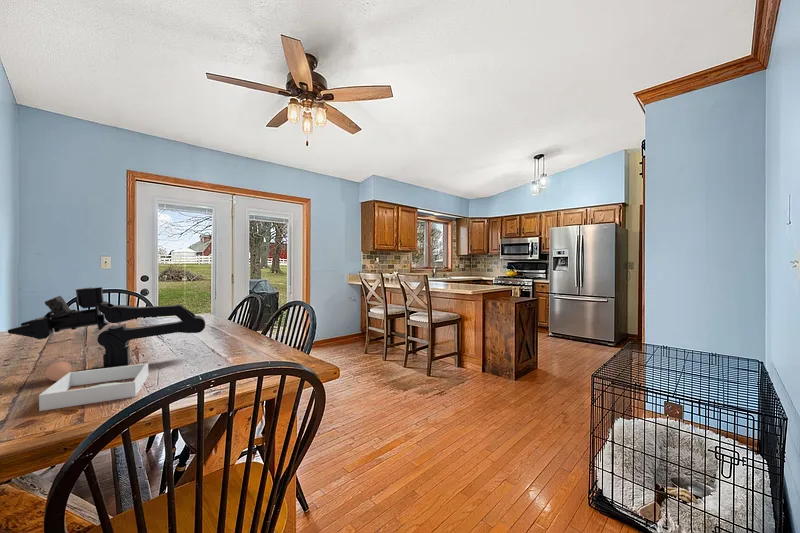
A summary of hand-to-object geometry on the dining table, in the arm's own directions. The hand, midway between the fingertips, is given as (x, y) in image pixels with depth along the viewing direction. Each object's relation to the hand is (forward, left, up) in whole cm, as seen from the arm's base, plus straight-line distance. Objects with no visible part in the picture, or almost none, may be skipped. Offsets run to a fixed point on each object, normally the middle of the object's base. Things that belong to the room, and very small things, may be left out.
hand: (14, 328), depth 109 cm
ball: (-13, +10, -16) cm, 23 cm away
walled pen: (-27, +27, -16) cm, 41 cm away
